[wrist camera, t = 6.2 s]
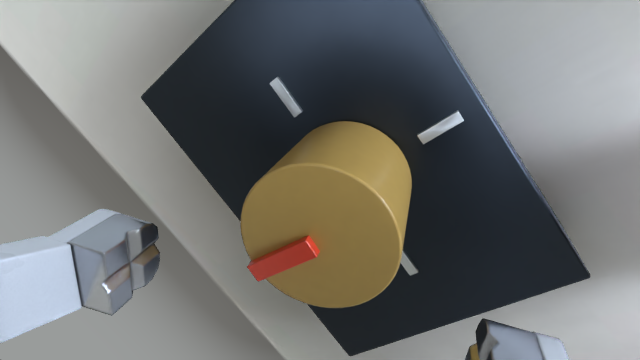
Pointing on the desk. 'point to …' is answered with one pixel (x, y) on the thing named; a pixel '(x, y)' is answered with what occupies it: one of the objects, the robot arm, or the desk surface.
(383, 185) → the lock knob
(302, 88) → the plate
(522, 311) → the desk surface
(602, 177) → the desk surface
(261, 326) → the desk surface
